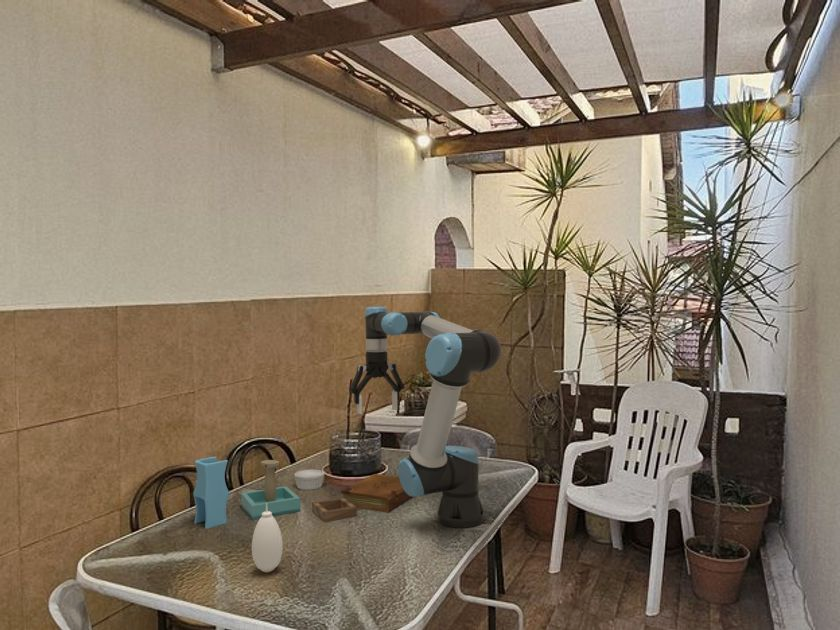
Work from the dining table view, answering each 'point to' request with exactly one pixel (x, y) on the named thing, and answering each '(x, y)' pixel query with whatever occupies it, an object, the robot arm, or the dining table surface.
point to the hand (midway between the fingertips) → (377, 411)
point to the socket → (336, 514)
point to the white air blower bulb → (267, 543)
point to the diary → (376, 493)
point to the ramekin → (309, 479)
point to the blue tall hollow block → (211, 492)
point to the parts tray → (270, 503)
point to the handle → (270, 479)
